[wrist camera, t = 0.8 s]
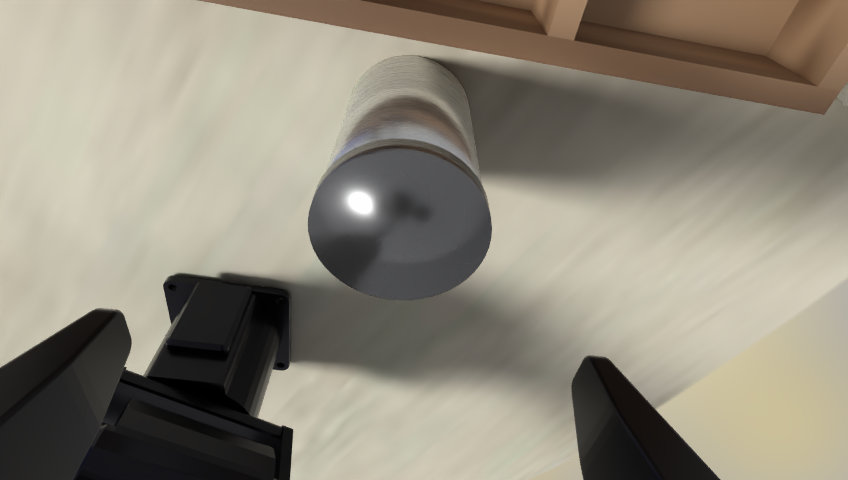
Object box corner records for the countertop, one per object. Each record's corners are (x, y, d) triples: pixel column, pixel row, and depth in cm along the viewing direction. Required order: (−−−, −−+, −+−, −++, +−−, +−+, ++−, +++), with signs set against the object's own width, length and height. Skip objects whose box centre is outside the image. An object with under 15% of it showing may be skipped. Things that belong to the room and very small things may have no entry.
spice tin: (457, 179, 22) (468, 309, 16) (342, 161, 22) (305, 288, 15) (485, 65, 19) (514, 170, 13) (351, 41, 18) (310, 138, 12)
